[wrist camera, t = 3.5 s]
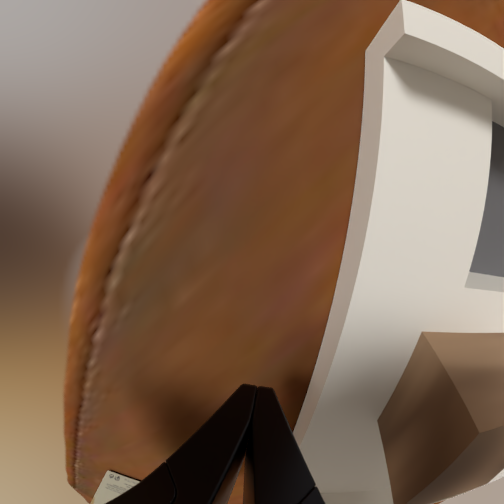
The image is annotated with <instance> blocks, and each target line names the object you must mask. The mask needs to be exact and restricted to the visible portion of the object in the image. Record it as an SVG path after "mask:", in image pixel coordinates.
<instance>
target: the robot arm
mask: <svg viewBox="0 0 504 504" xmlns="http://www.w3.org/2000/svg"><path fill="white" fill-rule="evenodd" d="M256 393H257V394H256ZM247 443H248V444H247ZM246 448H247V449H246ZM245 452H246V455H245ZM244 457H245V471H244V493H243V504H325V502H324V500H323V498H322V496H321V494H320V492H319V489H318V487H315V486H316V483H315V481H314V479H313V477H312V475H311V473H310V471H309V468H308V466H307V464H306V462H305V460H304V457H303V455H302V453H301V451H300V449H299V446H298V444H297V442H296V440H295V437H294V435H293V433H292V431H291V428H290V426H289V424H288V421H287V419H286V417H285V414H284V412H283V410H282V408H281V405H280V403H279V401H278V398H277V396H276V393H275V391H274V389H273V388H270V387H263V386H259V387H258V388H257V386H255V385H250V384H242V385H241V386H240V387H239V388H238V389H237V390H236V391H235V392H234V393H233V394H232V395H231V396H230V397H229V398H228V400H227V401H226V402H225V403H224V404H223V405H222V406H221V407H220V408H219V409H218V410H217V411H216V412H215V413H214V414H213V415H212V416H211V417H210V418H209V419H208V420H207V421H206V422H205V423H204V424H203V425H202V426H201V427H200V428H199V429H198V430H197V431H196V432H195V433H194V434H193V435H192V436H191V437H190V438H189V439H188V440H187V441H186V442H185V443H184V444H183V445H182V446H181V447H180V448H179V449H177V450H176V451H175V452H174V453H173V454H172V455H171V456H170V457H169V458H168V459H167V460H166V463H165V462H163V463H162V464H161V465H160V466H159V467H158V468H156V469H155V470H154V471H153V472H152V473H151V474H149V475H148V476H147V477H146V478H144V479H143V480H142V481H141V482H139V483H138V484H136V485H135V486H133V487H132V488H130V489H129V490H127V491H126V492H124V493H123V494H121V495H119V496H117V497H116V498H114V499H112V500H110V501H109V502H107V503H105V504H227V503H228V500H229V498H230V495H231V492H232V490H233V487H234V485H235V482H236V479H237V477H238V474H239V471H240V468H241V466H242V463H243V460H244Z"/></svg>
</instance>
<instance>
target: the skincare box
mask: <svg viewBox="0 0 504 504" xmlns="http://www.w3.org/2000/svg"><path fill="white" fill-rule="evenodd" d="M139 482H140V481H137V480H134V479H131V478H128V477H125V476H122V475H120V474H117V473H115V472H112V471H109V470H108V471H107V472H106V474H105V476H104V478H103V480H102V482H101V484H100V486H99V488H98V490H97V491H96V493H95V495H94V497H93V499H92V501H91V503H90V504H105V503H107V502H109V501H110V500H112V499H114V498H116V497H117V496H119V495H121V494H123V493H124V492H126V491H127V490H129V489H130V488H132V487H133V486H135V485H136V484H138V483H139Z"/></svg>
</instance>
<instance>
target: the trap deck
mask: <svg viewBox="0 0 504 504" xmlns="http://www.w3.org/2000/svg"><path fill="white" fill-rule="evenodd" d="M422 331H423V332H451V333H504V48H502V47H501V46H499V45H497V44H496V43H494V42H493V41H491V40H489V39H488V38H486V37H484V36H483V35H481V34H479V33H477V32H476V31H474V30H472V29H470V28H468V27H466V26H464V25H463V24H461V23H459V22H457V21H454V20H452V19H450V18H448V17H446V16H444V15H442V14H439V13H437V12H435V11H432V10H430V9H428V8H425V7H423V6H420V5H417V4H415V3H412V2H409V1H406V0H400V1H399V3H398V4H397V6H396V7H395V9H394V10H393V11H392V13H391V14H390V16H389V17H388V19H387V20H386V22H385V23H384V25H383V26H382V27H381V29H380V30H379V32H378V33H377V35H376V36H375V38H374V39H373V41H372V42H371V44H370V45H369V47H368V48H367V49H366V51H365V82H364V101H363V115H362V127H361V138H360V148H359V157H358V165H357V173H356V180H355V188H354V194H353V201H352V207H351V214H350V220H349V225H348V231H347V236H346V242H345V247H344V252H343V257H342V262H341V267H340V271H339V276H338V281H337V285H336V289H335V294H334V298H333V302H332V306H331V310H330V314H329V318H328V322H327V326H326V330H325V333H324V337H323V341H322V344H321V348H320V351H319V355H318V358H317V362H316V365H315V368H314V372H313V375H312V378H311V381H310V384H309V388H308V391H307V394H306V397H305V400H304V403H303V406H302V409H301V411H300V414H299V417H298V420H297V423H296V426H295V428H294V431H293V435H294V437H295V440H296V442H297V444H298V446H299V449H300V451H301V453H302V455H303V457H304V460H305V462H306V464H307V466H308V468H309V471H310V473H311V475H312V477H313V479H314V481H315V483H316V486H315V487H318V489H319V492H320V494H321V496H322V498H323V500H324V502H325V504H393V498H392V492H391V486H390V480H389V475H388V469H387V464H386V459H385V454H384V449H383V445H382V440H381V435H380V431H379V427H378V422H377V420H378V418H379V416H380V415H381V413H382V411H383V409H384V408H385V406H386V404H387V402H388V401H389V399H390V397H391V395H392V393H393V392H394V390H395V388H396V386H397V384H398V382H399V380H400V378H401V376H402V374H403V372H404V370H405V368H406V366H407V364H408V362H409V360H410V357H411V355H412V353H413V351H414V349H415V346H416V344H417V342H418V339H419V337H420V334H421V332H422ZM503 476H504V469H503V470H502V471H501V472H500V473H499V474H498V475H496V476H495V477H494V478H493V479H492V480H491V481H490V482H489V483H491V482H493V481H495V480H497V479H499V478H501V477H503ZM487 484H488V483H487ZM485 485H486V484H485ZM483 486H484V485H483ZM480 487H481V486H480ZM478 488H479V487H478ZM475 489H476V488H475ZM473 490H474V489H473ZM470 491H471V490H470ZM468 492H469V491H468ZM465 493H466V492H465ZM462 494H463V493H462ZM460 495H461V494H460ZM457 496H458V495H457ZM454 497H455V496H454ZM451 498H452V497H451ZM448 499H449V498H448ZM445 500H446V499H445ZM441 501H443V500H441ZM438 502H439V501H438ZM434 503H436V502H434ZM431 504H432V503H431Z"/></svg>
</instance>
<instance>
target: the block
mask: <svg viewBox="0 0 504 504" xmlns="http://www.w3.org/2000/svg"><path fill="white" fill-rule="evenodd" d="M377 422H378V427H379V431H380V435H381V440H382V445H383V449H384V454H385V459H386V464H387V469H388V475H389V480H390V486H391V492H392V498H393V504H431V503H434V502H438V501H441V500H445V499H448V498H451V497H454V496H457V495H460V494H462V493H465V492H468V491H470V490H473V489H475V488H478V487H480V486H483V485H485V484H487V483H489V482H490V481H491V480H492V479H493V478H494V477H495V476H496V475H498V474H499V473H500V472H501V471H502V470H503V469H504V333H451V332H423V331H422V332H421V334H420V337H419V339H418V342H417V344H416V346H415V349H414V351H413V353H412V355H411V357H410V360H409V362H408V364H407V366H406V368H405V370H404V372H403V374H402V376H401V378H400V380H399V382H398V384H397V386H396V388H395V390H394V392H393V393H392V395H391V397H390V399H389V401H388V402H387V404H386V406H385V408H384V409H383V411H382V413H381V415H380V416H379V418H378V420H377Z"/></svg>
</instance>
